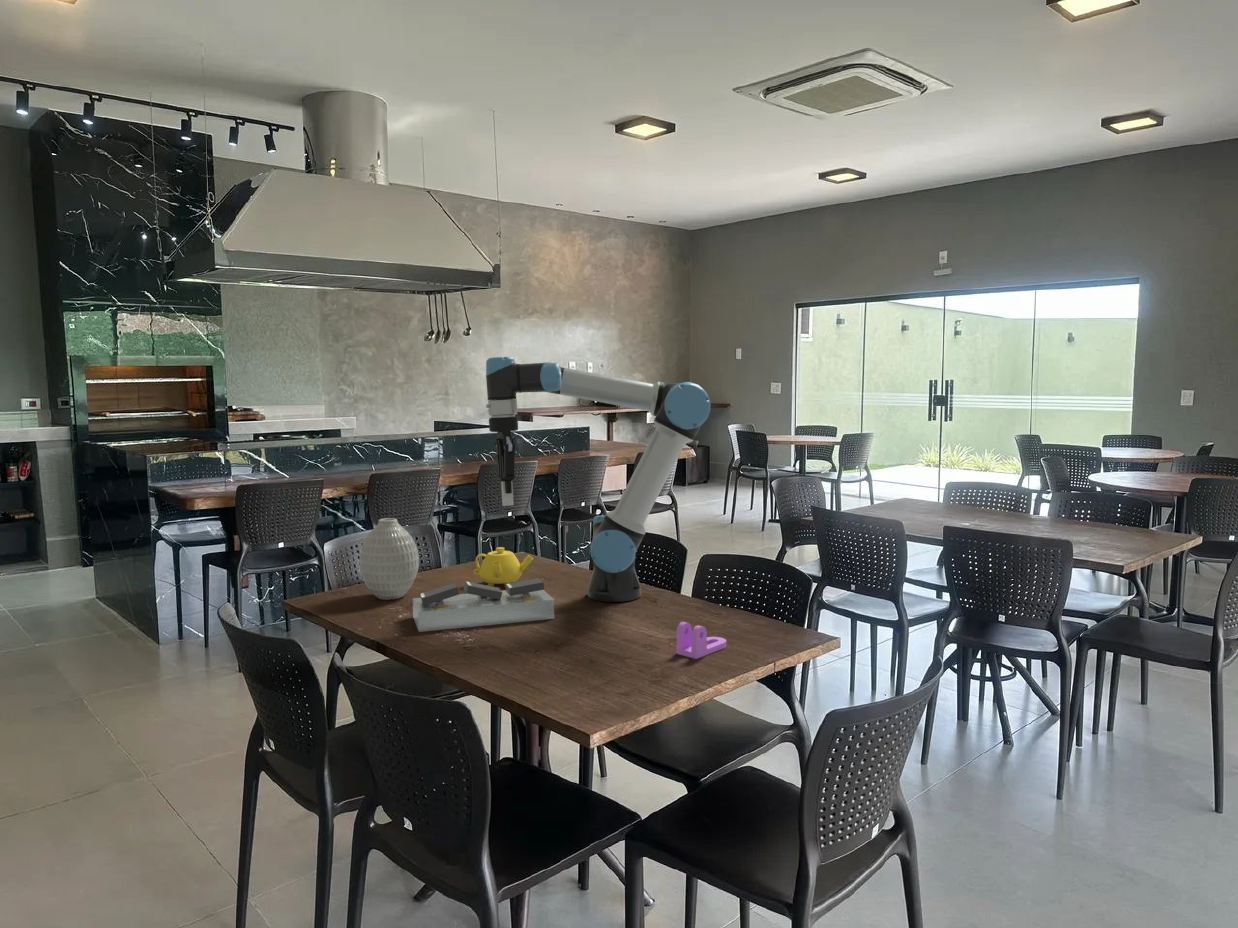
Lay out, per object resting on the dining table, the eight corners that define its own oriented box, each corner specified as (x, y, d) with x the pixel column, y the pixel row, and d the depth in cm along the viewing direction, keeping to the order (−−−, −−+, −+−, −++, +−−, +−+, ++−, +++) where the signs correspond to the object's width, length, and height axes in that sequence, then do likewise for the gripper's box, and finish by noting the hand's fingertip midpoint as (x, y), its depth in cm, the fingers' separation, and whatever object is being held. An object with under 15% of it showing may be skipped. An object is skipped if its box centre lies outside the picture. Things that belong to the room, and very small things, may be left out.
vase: (431, 594, 245) (429, 517, 243) (388, 607, 232) (386, 525, 229) (392, 587, 254) (389, 513, 252) (348, 599, 240) (345, 520, 238)
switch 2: (496, 595, 224) (498, 587, 224) (500, 599, 219) (502, 591, 219) (463, 588, 220) (465, 580, 220) (466, 593, 216) (468, 585, 216)
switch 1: (456, 589, 220) (454, 582, 220) (459, 594, 215) (456, 586, 215) (421, 601, 217) (419, 593, 217) (424, 605, 213) (421, 598, 212)
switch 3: (539, 585, 227) (538, 577, 227) (544, 589, 222) (543, 581, 222) (506, 591, 224) (505, 583, 224) (510, 596, 220) (509, 588, 219)
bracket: (696, 659, 187) (696, 628, 186) (676, 654, 191) (676, 623, 190) (731, 645, 196) (731, 616, 196) (711, 641, 200) (711, 611, 199)
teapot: (495, 592, 247) (495, 554, 246) (468, 584, 257) (468, 548, 256) (535, 584, 257) (534, 547, 256) (507, 577, 267) (507, 541, 266)
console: (541, 605, 232) (540, 584, 232) (554, 618, 219) (553, 596, 219) (413, 617, 221) (412, 595, 221) (418, 631, 208) (418, 609, 208)
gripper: (483, 416, 229) (488, 503, 231) (494, 417, 217) (499, 509, 219) (511, 415, 232) (515, 501, 234) (523, 416, 220) (528, 506, 222)
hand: (508, 505), depth 227 cm, fingers closed
